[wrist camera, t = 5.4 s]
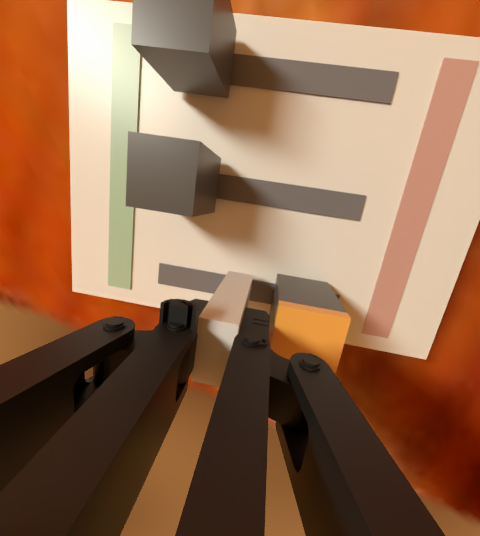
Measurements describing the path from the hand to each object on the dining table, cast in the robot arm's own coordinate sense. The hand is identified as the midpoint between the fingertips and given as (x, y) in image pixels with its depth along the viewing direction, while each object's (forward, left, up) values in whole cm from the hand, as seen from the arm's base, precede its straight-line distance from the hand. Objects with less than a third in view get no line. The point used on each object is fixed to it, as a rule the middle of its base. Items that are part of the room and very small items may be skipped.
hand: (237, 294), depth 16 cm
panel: (0, -6, -3) cm, 7 cm away
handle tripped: (-4, 0, -1) cm, 4 cm away
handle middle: (+4, -6, -1) cm, 7 cm away
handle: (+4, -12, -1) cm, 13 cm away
